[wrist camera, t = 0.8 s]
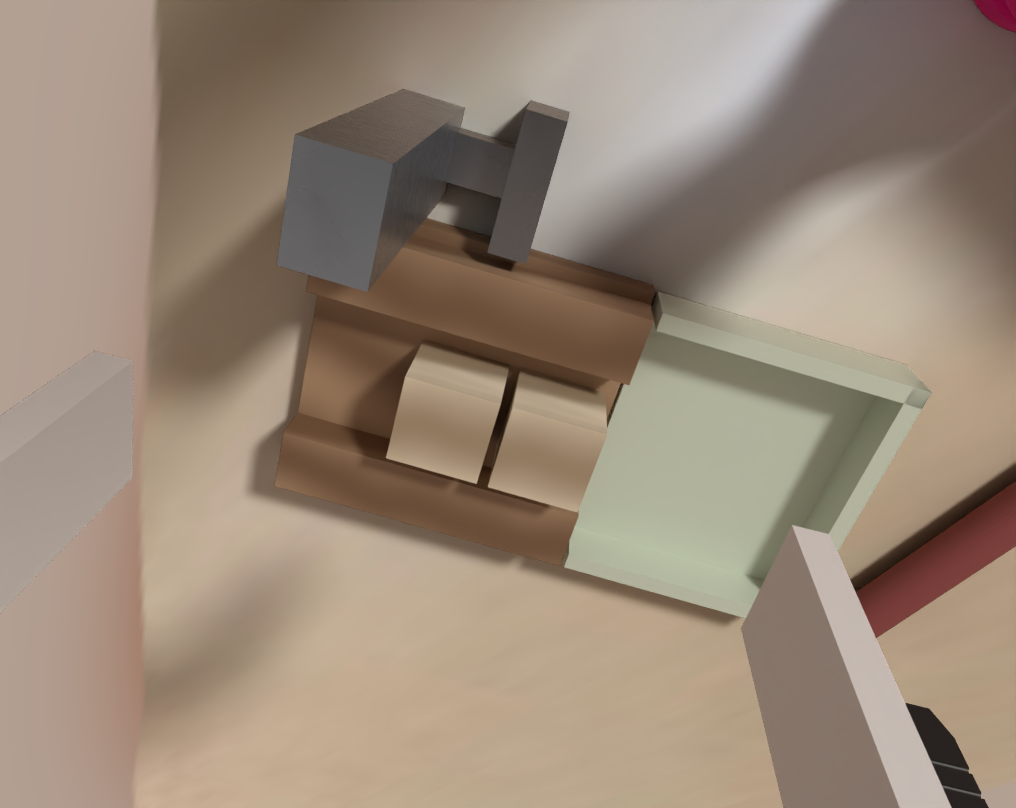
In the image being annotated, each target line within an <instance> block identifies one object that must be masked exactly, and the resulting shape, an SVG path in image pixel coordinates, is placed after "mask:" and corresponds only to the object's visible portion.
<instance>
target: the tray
mask: <svg viewBox="0 0 1016 808" xmlns="http://www.w3.org/2000/svg"><path fill="white" fill-rule="evenodd" d="M651 309H652V314H653V319H654V323H653V325H652V328H651V330H650V333H649V336H648V338H647V341H646V343H645V346H644V349H643V351H642V354H641V356H640V359H639V361H638V364H637V367H636V369H635V372H634V374H633V377H632V380H631V382H630V385H626V384H622V386H621V389H620V392H619V394H618V397H617V399H616V402H615V405H614V407H613V410H612V413H611V415H610V418H609V420H608V423H607V437H606V439H605V442H604V445H603V447H602V450H601V452H600V455H599V458H598V460H597V463H596V465H595V468H594V471H593V473H592V476H591V479H590V481H589V484H588V486H587V489H586V492H585V494H584V497H583V499H582V502H581V505H580V507H579V517H578V519H577V522H576V525H575V527H574V530H573V532H572V535H571V538H570V540H569V543H568V545H567V548H566V550H565V555H564V567H565V568H568V569H572V570H576V571H579V572H583V573H586V574H590V575H593V576H597V577H600V578H604V579H608V580H611V581H615V582H618V583H622V584H625V585H629V586H632V587H636V588H640V589H643V590H647V591H650V592H654V593H657V594H661V595H664V596H668V597H672V598H675V599H679V600H682V601H686V602H689V603H693V604H696V605H700V606H704V607H707V608H711V609H714V610H718V611H721V612H725V613H728V614H732V615H736V616H739V617H743V618H746V617H747V615H748V613H749V611H750V609H751V607H752V605H753V603H754V601H755V599H756V597H757V595H758V593H759V591H760V589H761V587H762V585H763V583H764V580H765V578H766V576H767V574H768V572H769V570H770V568H771V566H772V564H773V562H774V560H775V558H776V556H777V554H778V552H779V550H780V548H781V546H782V544H783V542H784V540H785V538H786V536H787V534H788V532H789V530H790V528H791V526H792V525H794V526H798V527H802V528H806V529H810V530H814V531H818V532H822V533H826V534H830V536H831V538H832V541H833V543H834V545H835V547H836V550H837V552H838V550H839V549H840V547H841V545H842V544H843V542H844V540H845V539H846V537H847V535H848V533H849V532H850V530H851V528H852V527H853V525H854V523H855V522H856V520H857V518H858V516H859V515H860V513H861V511H862V510H863V508H864V506H865V505H866V503H867V501H868V500H869V498H870V496H871V494H872V493H873V491H874V489H875V488H876V486H877V484H878V483H879V481H880V479H881V478H882V476H883V474H884V472H885V471H886V469H887V467H888V466H889V464H890V462H891V461H892V459H893V457H894V456H895V454H896V452H897V450H898V449H899V447H900V445H901V444H902V442H903V440H904V439H905V437H906V435H907V434H908V432H909V430H910V428H911V427H912V425H913V423H914V422H915V420H916V418H917V417H918V415H919V413H920V412H921V410H922V408H923V406H924V405H925V403H926V401H927V400H928V398H929V396H930V395H931V393H932V392H931V391H930V390H929V389H928V388H927V387H926V386H925V384H924V383H923V382H922V381H921V380H920V379H919V378H918V377H917V376H916V374H915V373H914V372H913V371H912V370H911V369H910V368H909V367H908V365H905V364H901V363H898V362H895V361H891V360H888V359H885V358H881V357H878V356H874V355H871V354H868V353H864V352H861V351H858V350H854V349H851V348H847V347H844V346H841V345H837V344H834V343H831V342H827V341H824V340H820V339H817V338H814V337H810V336H807V335H804V334H800V333H797V332H793V331H790V330H787V329H783V328H780V327H777V326H773V325H770V324H766V323H763V322H760V321H756V320H753V319H750V318H746V317H743V316H739V315H736V314H733V313H729V312H726V311H723V310H719V309H716V308H712V307H709V306H706V305H702V304H699V303H696V302H692V301H689V300H685V299H682V298H679V297H675V296H672V295H669V294H665V293H662V292H657V295H656V297H655V300H654V302H653V305H652V308H651Z"/></svg>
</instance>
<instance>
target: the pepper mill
mask: <svg viewBox="0 0 1016 808" xmlns="http://www.w3.org/2000/svg"><path fill="white" fill-rule="evenodd" d="M974 1H975V3H976V5H977V7H978V8H979V9H980V11H981V12H982V13H983V14H984V15H985V16H986V17H987V18H988V19H989V20H991V21H992V22H994V23H995V24H997V25H998V26H1000V27H1002V28H1004V29H1006V30H1009V31H1013V32H1016V0H974Z"/></svg>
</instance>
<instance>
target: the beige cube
mask: <svg viewBox="0 0 1016 808" xmlns="http://www.w3.org/2000/svg"><path fill="white" fill-rule="evenodd" d="M509 366H510V364H507V363H503V362H500V361H496V360H493V359H489V358H486V357H483V356H479V355H476V354H472V353H469V352H465V351H462V350H458V349H455V348H452V347H448V346H445V345H441V344H438V343H434V342H431V341H427V340H423V342H422V344H421V346H420V348H419V350H418V352H417V354H416V356H415V358H414V360H413V362H412V364H411V366H410V368H409V370H408V372H407V374H406V376H405V379H404V384H403V388H402V392H401V396H400V401H399V405H398V409H397V413H396V418H395V422H394V426H393V430H392V435H391V439H390V443H389V447H388V452H387V456H386V458H387V459H391V460H394V461H398V462H401V463H405V464H408V465H412V466H415V467H419V468H422V469H426V470H429V471H433V472H436V473H440V474H443V475H447V476H450V477H454V478H457V479H461V480H464V481H468V482H471V483H475V484H477V481H478V477H479V474H480V471H481V467H482V464H483V461H484V458H485V454H486V451H487V448H488V444H489V441H490V438H491V435H492V431H493V428H494V425H495V421H496V418H497V415H498V412H499V408H500V405H501V401H502V397H503V392H504V388H505V384H506V379H507V375H508V370H509Z"/></svg>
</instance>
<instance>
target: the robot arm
mask: <svg viewBox="0 0 1016 808" xmlns="http://www.w3.org/2000/svg"><path fill="white" fill-rule="evenodd" d="M132 476H133V360H129V359H125V358H121V357H117V356H113V355H109V354H105V353H101V352H97V351H93V352H92V353H90V354H89V355H87V356H86V357H84V358H83V359H82V360H80V361H79V362H77V363H76V364H74V365H73V366H72V367H70V368H69V369H67V370H66V371H64V372H63V373H61V374H60V375H58V376H57V377H56V378H54V379H53V380H51V381H50V382H48V383H47V384H45V385H44V386H43V387H41V388H40V389H38V390H37V391H35V392H34V393H32V394H31V395H30V396H28V397H27V398H25V399H24V400H22V401H21V402H19V403H18V404H17V405H15V406H14V407H12V408H11V409H9V410H8V411H6V412H5V413H4V414H2V415H1V416H0V613H1V612H2V611H3V610H4V609H5V608H6V607H7V606H8V605H9V604H10V603H11V602H12V601H13V600H14V599H15V598H16V596H18V595H19V593H20V592H21V591H22V590H23V589H24V588H25V587H26V586H27V585H28V584H29V583H30V582H31V581H32V580H33V579H34V578H35V577H36V576H37V575H38V574H39V573H40V572H41V571H42V570H43V569H44V568H45V567H46V566H47V565H48V564H49V563H50V562H51V561H52V560H53V559H54V557H56V556H57V554H59V553H60V552H61V551H62V549H63V548H64V547H65V546H66V545H67V544H68V543H69V542H70V541H71V540H72V539H73V538H74V537H75V536H76V535H77V534H78V533H79V532H80V531H81V530H82V529H83V528H84V527H85V526H86V525H87V524H88V523H89V522H90V521H91V520H92V519H93V518H94V517H95V516H96V515H97V514H98V513H99V512H100V510H101V509H102V508H103V507H104V506H105V505H106V504H107V503H108V502H109V501H110V500H111V499H112V498H113V497H114V496H115V495H116V494H117V493H118V492H119V491H120V490H121V489H122V488H123V487H124V486H125V485H126V484H127V483H128V482H129V481H130V480H131V479H132V478H133V477H132ZM741 630H742V634H743V638H744V643H745V647H746V651H747V655H748V660H749V664H750V668H751V672H752V677H753V681H754V685H755V689H756V693H757V698H758V702H759V706H760V710H761V715H762V719H763V723H764V727H765V732H766V736H767V740H768V744H769V749H770V753H771V757H772V761H773V765H774V770H775V774H776V778H777V782H778V787H779V791H780V795H781V799H782V804H783V808H988V806H987V804H986V802H985V800H984V799H981V791H980V789H979V787H978V785H977V783H976V781H975V779H974V777H973V775H972V774H969V772H968V770H969V767H968V765H967V763H966V761H965V759H964V757H963V755H962V753H961V751H960V749H959V747H958V745H957V743H956V740H955V738H954V737H953V736H952V735H951V734H950V732H949V731H948V730H947V729H946V728H945V727H944V725H943V724H942V723H941V722H940V721H939V720H938V718H937V717H936V716H935V715H934V714H933V713H932V711H931V710H930V709H928V708H924V707H920V706H916V705H912V704H908V703H905V702H904V700H903V698H902V695H901V693H900V691H899V689H898V686H897V684H896V682H895V680H894V677H893V675H892V673H891V671H890V668H889V666H888V664H887V662H886V659H885V657H884V655H883V653H882V650H881V648H880V646H879V644H878V641H877V639H876V637H875V635H874V633H873V630H872V628H871V626H870V624H869V621H868V619H867V617H866V615H865V612H864V610H863V608H862V606H861V603H860V601H859V599H858V597H857V594H856V592H855V590H854V588H853V585H852V583H851V581H850V579H849V576H848V574H847V572H846V570H845V567H844V565H843V563H842V561H841V558H840V556H839V554H838V552H837V550H836V547H835V545H834V543H833V541H832V538H831V536H830V534H826V533H822V532H818V531H814V530H810V529H806V528H802V527H798V526H794V525H792V526H791V528H790V530H789V532H788V534H787V536H786V538H785V540H784V542H783V544H782V546H781V548H780V550H779V552H778V554H777V556H776V558H775V560H774V562H773V564H772V566H771V568H770V570H769V572H768V574H767V576H766V578H765V580H764V583H763V585H762V587H761V589H760V591H759V593H758V595H757V597H756V599H755V601H754V603H753V605H752V607H751V609H750V611H749V613H748V615H747V617H746V619H745V621H744V623H743V625H742V627H741Z"/></svg>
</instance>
